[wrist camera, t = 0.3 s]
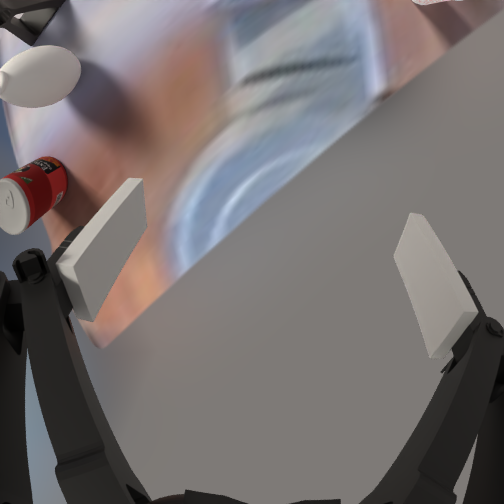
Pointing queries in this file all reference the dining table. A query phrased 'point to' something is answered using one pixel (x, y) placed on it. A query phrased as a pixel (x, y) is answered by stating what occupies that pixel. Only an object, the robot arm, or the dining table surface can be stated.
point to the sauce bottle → (39, 76)
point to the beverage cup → (428, 1)
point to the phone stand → (27, 17)
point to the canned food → (30, 193)
